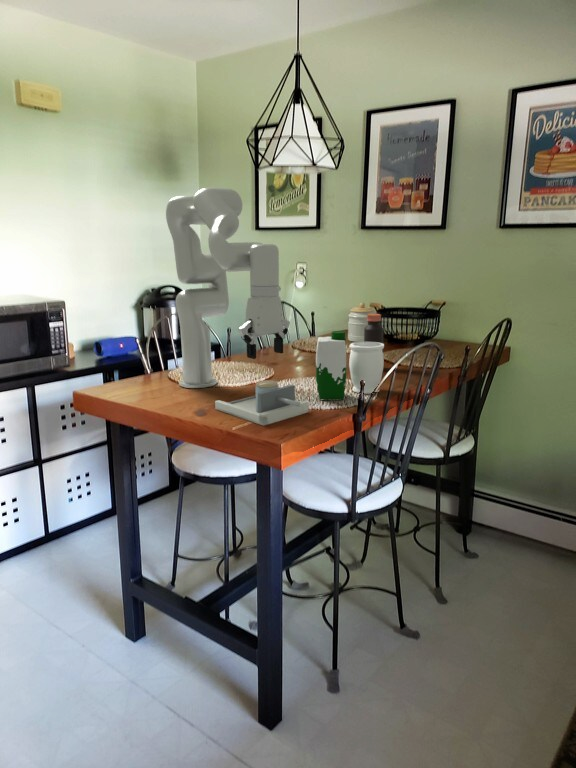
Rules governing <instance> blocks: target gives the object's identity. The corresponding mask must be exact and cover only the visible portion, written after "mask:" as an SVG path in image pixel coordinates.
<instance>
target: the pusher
mask: <svg viewBox="0 0 576 768" xmlns="http://www.w3.org/2000/svg"><path fill="white" fill-rule="evenodd" d="M295 386H296V385H295V384H294V385H293V384H290V385H286V386H282V387H279V388H277V389H273V390H269V391H265V392H261V393H258V413H263V412H267V411H270V410H274V409H277V408H281V407H284V406H288V405H294V406H298V407H299V406H300V402H301V401H299V402H297V401H298V400H296V393H295V392H296V391H295V390H296V387H295ZM295 400H296V401H295Z"/></svg>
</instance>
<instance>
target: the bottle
mask: <svg viewBox="0 0 576 768" xmlns="http://www.w3.org/2000/svg"><path fill="white" fill-rule="evenodd" d="M381 321H382V314H380V313H374V314H368V315H367V322H368V325H367V326H366V327H365V329H364V342H378V343H382V344H384V328H383V326H382V325H381ZM382 352H383V353H384V348H383V349H382Z"/></svg>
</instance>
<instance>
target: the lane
mask: <svg viewBox="0 0 576 768" xmlns="http://www.w3.org/2000/svg"><path fill="white" fill-rule="evenodd" d="M295 401H297V402H300V406H299V407H298V406H294V405H288V406H284V407H281V408H277V409H274V410H270V411H267V412H263V413H258V412H256V394H255V395H251V396H248V397H244V398H241V399H240V398H239V399H236V400H232V401H228V402H226V401H223V400H220V399H219V400H215V401H214V406H215V407H214V408H215V410H217V411H220V412H222V413H226V414H227V415H231V416H234V417H236V418H240V419H242V420H246V421H249V422H251V423H255V424H256V425H261V426H267V425H271V424H274V423H278V422H280V421H284V420H287V419H291V418H294V417H297V416H300V415H303V414H306V413H309V401H307V400H301V401H299V400H296V399H295Z"/></svg>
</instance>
